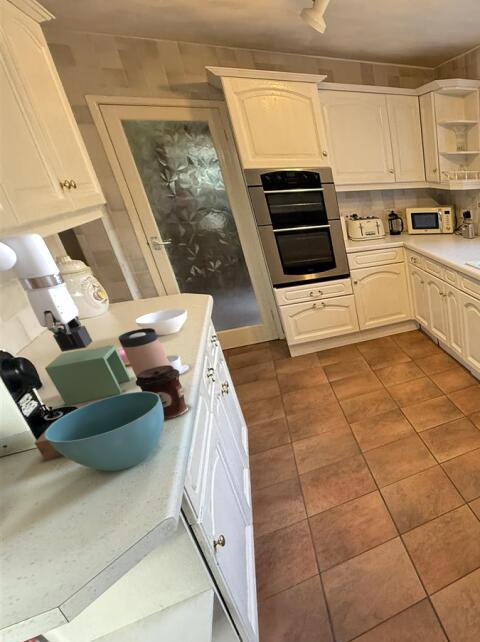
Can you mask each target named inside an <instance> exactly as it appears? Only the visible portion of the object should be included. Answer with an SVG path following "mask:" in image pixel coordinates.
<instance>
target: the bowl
mask: <svg viewBox="0 0 480 642" xmlns="http://www.w3.org/2000/svg"><path fill="white" fill-rule="evenodd" d="M187 318H188V312H187V310H186V309H183V308H172V309H163V310H158V311H154V312H151V313H148V314H144V315H142V316H140V317H138V318H136V319H135V324H136V325H137V326H138V327H139V328H140V329H145V328H152V329H154V330H155V332H156V334H157V336H167V335H171V334H175V333H177V332H179V331H180V330H181V328H182V326H183V325H184V323H185V322H186V320H187Z"/></svg>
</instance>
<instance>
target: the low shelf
mask: <svg viewBox="0 0 480 642" xmlns="http://www.w3.org/2000/svg"><path fill="white" fill-rule="evenodd" d="M54 422H55V421H53V422H51V424H53V423H54ZM47 429H48V427H47V428H46V429H45V431H46V430H47ZM45 431H43V433H41V435H40V436H39V437H38V438H37V440H35V442H34V445H35V446H36V448H37V450H38V451H39V453H40V454H41V456H42V457H43V459H44V460H45V461H49V460H53V459H57V458H61V457H65V456H64V455H62V454H61V453H60V452H58V451H57V450H56V449H55V448H54V447H53V446H52V445H51V444H50V443H49V442H48V441H47V440H46V438H45V436H44V434H45Z"/></svg>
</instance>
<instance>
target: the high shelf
mask: <svg viewBox="0 0 480 642" xmlns="http://www.w3.org/2000/svg"><path fill="white" fill-rule="evenodd" d="M118 350H119V349H118V348H117V346H116V345H115V344H111V345H105V346H99V347H94V348H89V349H88V348H87V349H82V350H77V351H76V350H75V351H71V352H70V351H69V352H65V353H60V354H59V355H58V356H57V357H56V358H54V359H53V360H52V361H51V362H50V363H49V364H47V365H46V366H45V367H44V369H45V370H44V371H46V373H47V375H48V377H49V378H50V380H51V382H52V384H53V386H54V387H55V389H56V390H57V392H58V394H59V396H60V397H61V399H62V400H63V402H64V404H65V406H70V405H74V404H79V403H84V402H88V401H93V400H97V399H102V398H108V397H112V396H116V395H121V394H123V390H122V388H121V386H120V384H121V383H124V382H129V381H131V380H132V377H131V376H130V373H129V371H128V369H127V367H126V365H124V363H123V361H122V359H121V356H120V354H119V352H118ZM119 383H120V384H119Z"/></svg>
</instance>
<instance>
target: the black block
mask: <svg viewBox="0 0 480 642" xmlns="http://www.w3.org/2000/svg"><path fill="white" fill-rule="evenodd" d="M69 330H70V333H73V334H74V336H75V338H76V340H77V342H78V344H79V346H78V347H75V348H69V349H63V348H62V346H61V344H60V342H59V340H58V339H57V337H56V336H55V335H54V334H53V335H52V336H53V339H54V340H55V342H56V344H57V346H58V347H59V349H60V351H61V352H62V353H63V352H70V351H76V350H80V349H86V348H88V346H89V345H91V344H92V342H93V339H92V337H91V335H90V333H89V332H88V331H89V330H88V329H87V327H86V326H85V325H81V326H79V327H73V328H69Z"/></svg>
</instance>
